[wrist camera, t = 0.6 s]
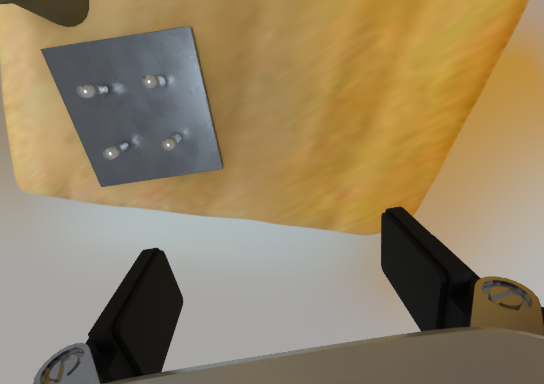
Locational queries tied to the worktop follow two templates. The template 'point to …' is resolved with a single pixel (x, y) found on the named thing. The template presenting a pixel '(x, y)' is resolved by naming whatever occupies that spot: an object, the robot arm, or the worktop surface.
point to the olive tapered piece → (56, 10)
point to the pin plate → (138, 105)
